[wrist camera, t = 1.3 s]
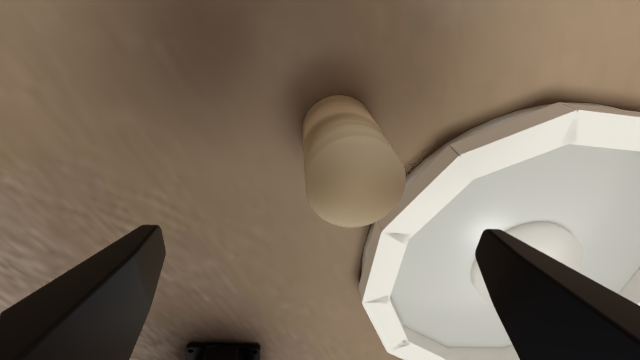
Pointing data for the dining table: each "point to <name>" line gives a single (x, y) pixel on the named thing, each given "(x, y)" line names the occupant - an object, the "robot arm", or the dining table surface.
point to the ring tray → (503, 224)
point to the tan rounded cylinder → (349, 164)
